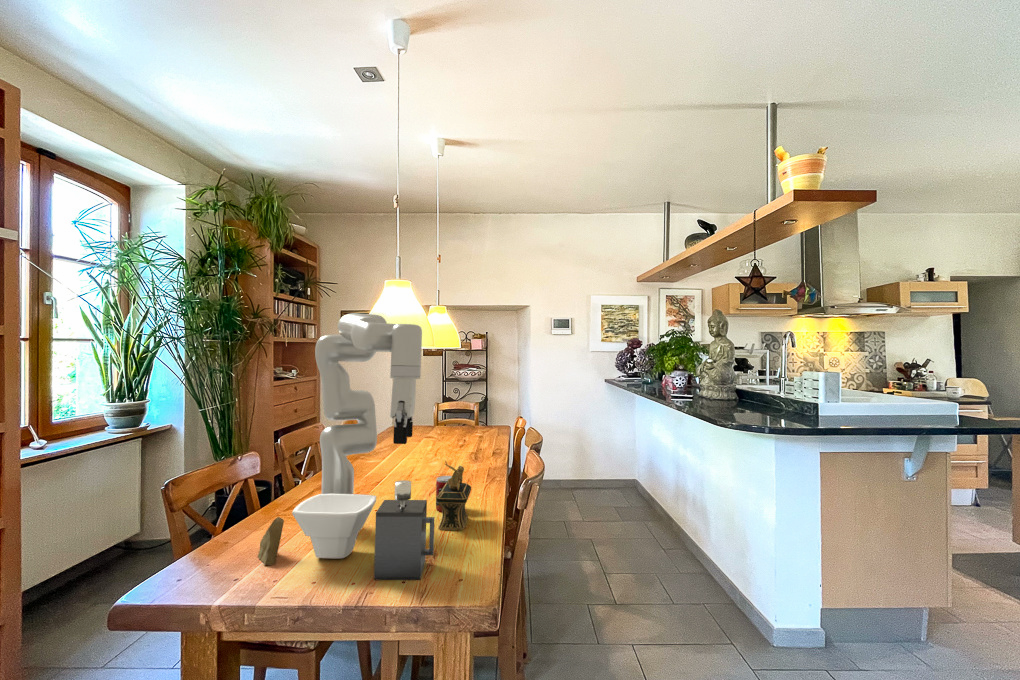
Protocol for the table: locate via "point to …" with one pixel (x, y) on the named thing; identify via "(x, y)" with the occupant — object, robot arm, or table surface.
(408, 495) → the plunger
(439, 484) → the canned food
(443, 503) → the decorative box
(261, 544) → the rock
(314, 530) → the bowl
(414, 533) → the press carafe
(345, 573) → the table surface
